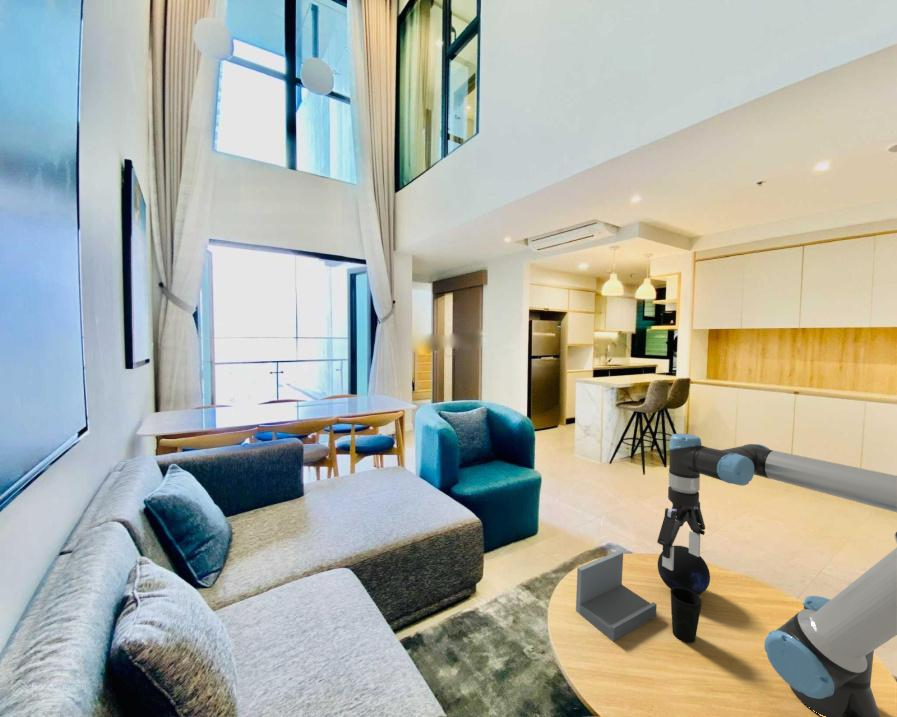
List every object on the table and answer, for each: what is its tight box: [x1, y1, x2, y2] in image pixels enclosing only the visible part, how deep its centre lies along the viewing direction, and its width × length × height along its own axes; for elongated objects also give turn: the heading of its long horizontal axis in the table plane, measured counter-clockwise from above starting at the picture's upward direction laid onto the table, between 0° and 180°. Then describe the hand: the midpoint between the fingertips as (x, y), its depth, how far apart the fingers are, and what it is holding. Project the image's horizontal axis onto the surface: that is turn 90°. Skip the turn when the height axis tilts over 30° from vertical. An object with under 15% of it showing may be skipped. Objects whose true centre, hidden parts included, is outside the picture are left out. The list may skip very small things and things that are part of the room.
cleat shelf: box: [575, 550, 657, 642], centre depth 116 cm, size 14×20×14 cm
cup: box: [669, 587, 703, 644], centre depth 108 cm, size 8×8×12 cm
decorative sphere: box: [657, 545, 711, 596], centre depth 127 cm, size 15×15×15 cm
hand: (681, 561), depth 108 cm, fingers open, 13 cm apart
